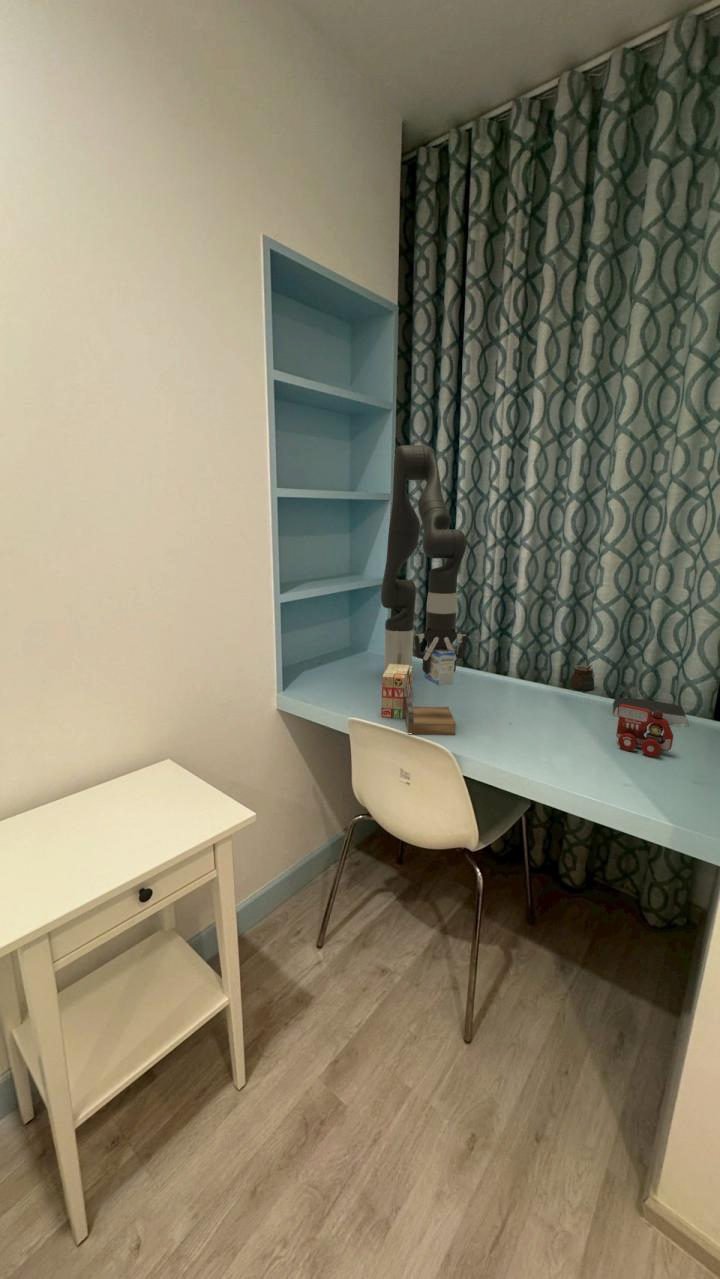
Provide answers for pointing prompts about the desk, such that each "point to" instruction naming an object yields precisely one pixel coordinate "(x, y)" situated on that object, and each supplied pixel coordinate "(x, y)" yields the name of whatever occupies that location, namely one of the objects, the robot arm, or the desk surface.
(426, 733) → the dock
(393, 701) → the stack of blocks
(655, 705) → the grey flat block
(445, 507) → the robot arm
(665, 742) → the toy fire truck
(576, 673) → the mate gourd
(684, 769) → the desk surface
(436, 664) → the medicine box
